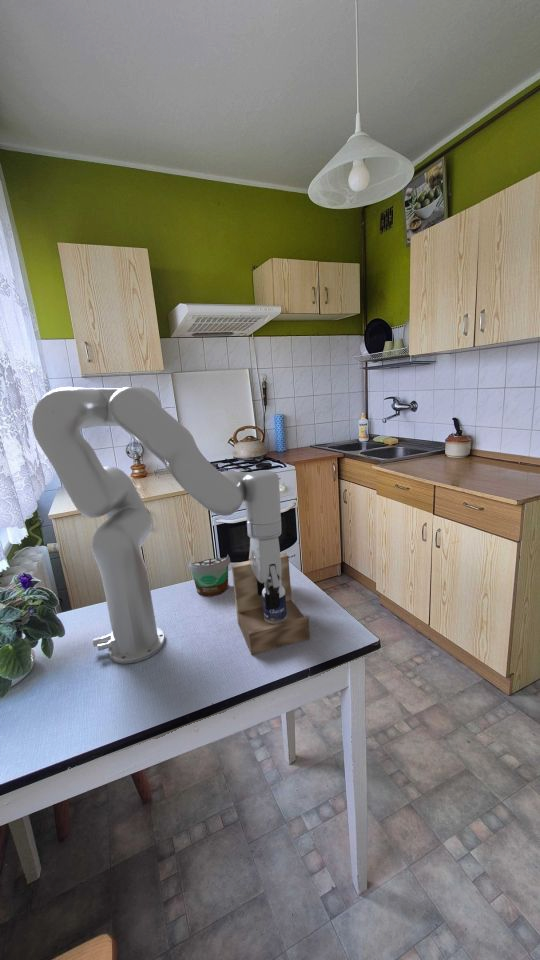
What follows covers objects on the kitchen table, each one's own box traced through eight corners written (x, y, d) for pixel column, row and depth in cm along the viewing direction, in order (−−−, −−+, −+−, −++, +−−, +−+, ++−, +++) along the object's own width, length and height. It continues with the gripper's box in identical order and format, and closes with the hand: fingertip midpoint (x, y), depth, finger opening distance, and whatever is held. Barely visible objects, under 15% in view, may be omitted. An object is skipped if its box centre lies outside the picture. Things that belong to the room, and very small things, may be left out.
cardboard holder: (251, 654, 84) (244, 588, 81) (237, 623, 96) (231, 564, 93) (309, 638, 88) (305, 574, 85) (289, 609, 100) (285, 553, 97)
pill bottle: (270, 627, 87) (266, 588, 84) (260, 615, 91) (257, 578, 89) (291, 620, 89) (288, 581, 87) (280, 609, 94) (277, 572, 91)
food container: (192, 602, 108) (188, 569, 106) (191, 592, 114) (187, 560, 111) (236, 593, 111) (232, 561, 108) (232, 584, 116) (229, 553, 114)
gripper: (239, 518, 92) (244, 586, 96) (257, 543, 75) (262, 625, 79) (269, 514, 94) (273, 581, 98) (293, 537, 77) (296, 617, 81)
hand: (268, 600), depth 88 cm, fingers open, 6 cm apart
